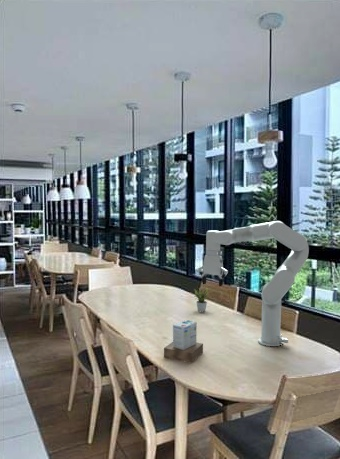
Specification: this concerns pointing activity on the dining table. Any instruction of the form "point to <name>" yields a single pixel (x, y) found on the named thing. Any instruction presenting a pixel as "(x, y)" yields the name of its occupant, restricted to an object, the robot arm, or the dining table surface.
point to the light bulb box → (184, 334)
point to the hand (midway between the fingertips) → (212, 284)
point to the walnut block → (183, 352)
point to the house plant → (201, 300)
